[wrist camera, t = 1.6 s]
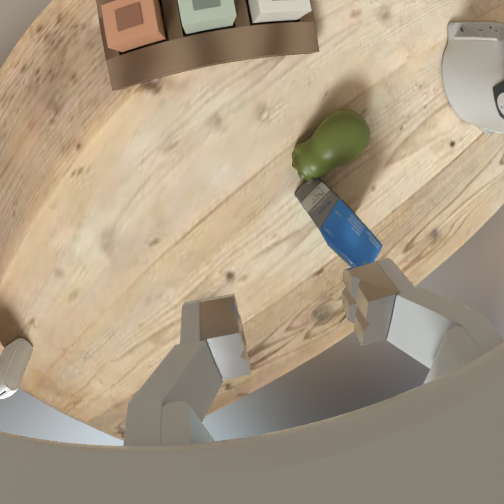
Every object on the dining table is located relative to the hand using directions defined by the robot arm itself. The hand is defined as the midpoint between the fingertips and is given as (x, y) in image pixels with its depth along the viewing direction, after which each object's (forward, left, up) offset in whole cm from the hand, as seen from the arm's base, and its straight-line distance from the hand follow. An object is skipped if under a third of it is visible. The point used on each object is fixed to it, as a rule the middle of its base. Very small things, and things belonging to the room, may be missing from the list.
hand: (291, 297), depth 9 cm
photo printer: (+56, +3, -27) cm, 62 cm away
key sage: (-6, -13, -24) cm, 28 cm away
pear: (-9, +7, -28) cm, 30 cm away
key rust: (0, -16, -24) cm, 29 cm away
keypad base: (-6, -13, -27) cm, 31 cm away
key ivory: (-12, -10, -24) cm, 29 cm away
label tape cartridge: (-5, +14, -27) cm, 31 cm away
